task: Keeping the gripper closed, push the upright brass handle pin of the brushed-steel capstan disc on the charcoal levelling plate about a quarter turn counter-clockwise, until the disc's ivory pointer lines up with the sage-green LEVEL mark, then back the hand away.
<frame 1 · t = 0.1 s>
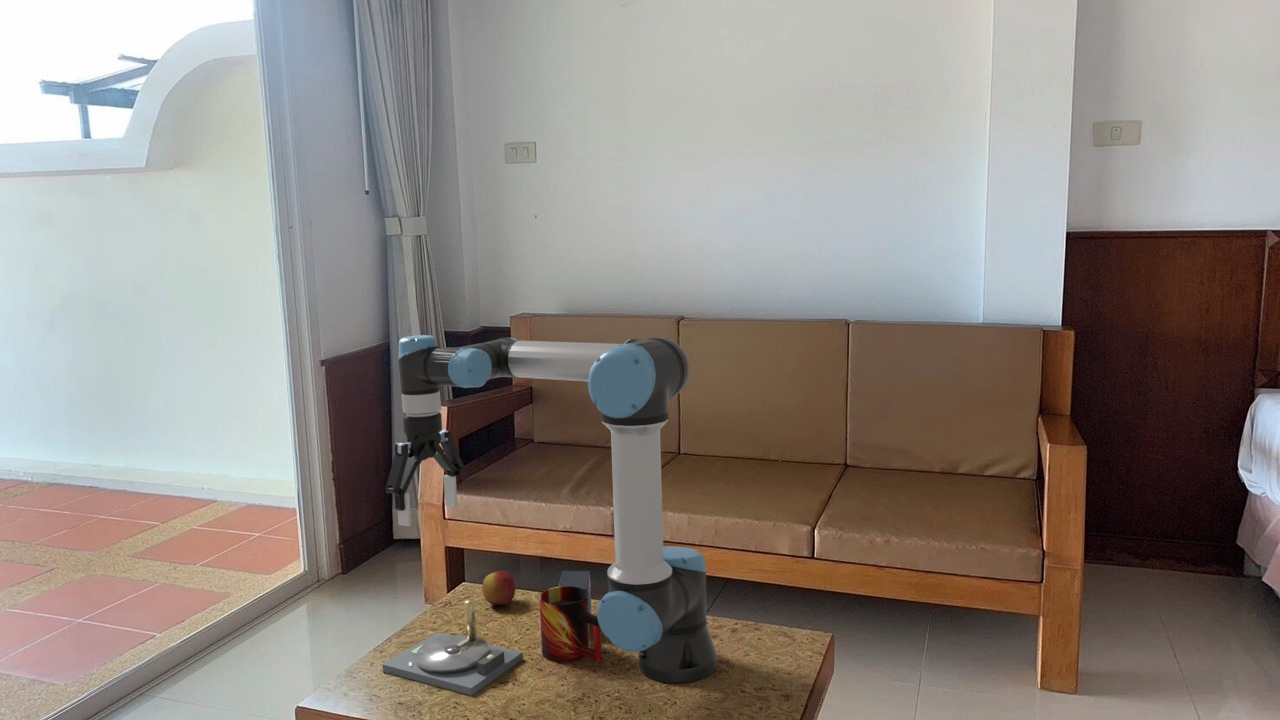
hand: (428, 515, 188), 28 cm above the table, fingers open, 13 cm apart
apple: (499, 605, 212), on the table
small box: (576, 626, 200), on the table
level plate: (453, 665, 183), on the table
capstan: (451, 633, 182), point 7 cm above the table, hinge at 0.0°
mug: (575, 653, 187), on the table
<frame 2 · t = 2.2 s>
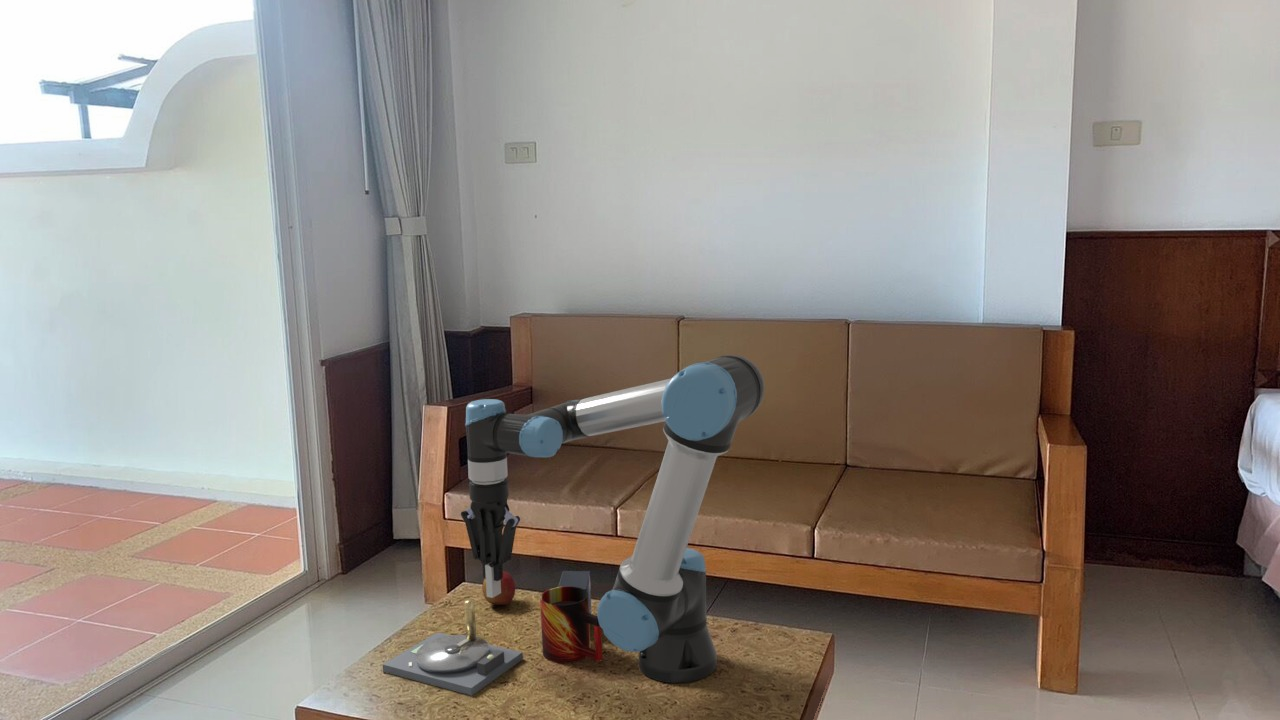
hand: (493, 594, 183), 13 cm above the table, fingers closed
nothing on the table moved.
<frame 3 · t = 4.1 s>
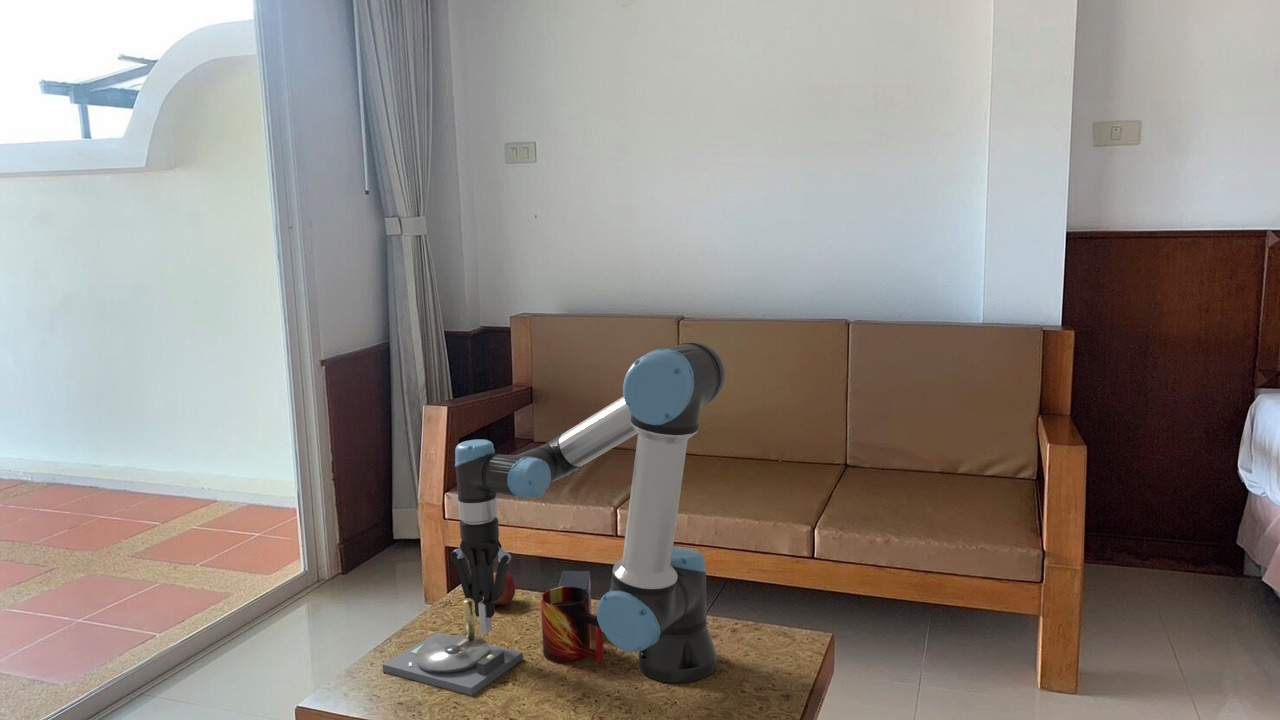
hand: (486, 631, 186), 5 cm above the table, fingers closed
capstan: (451, 633, 182), point 7 cm above the table, hinge at 3.3°, touching gripper
everything else where it was.
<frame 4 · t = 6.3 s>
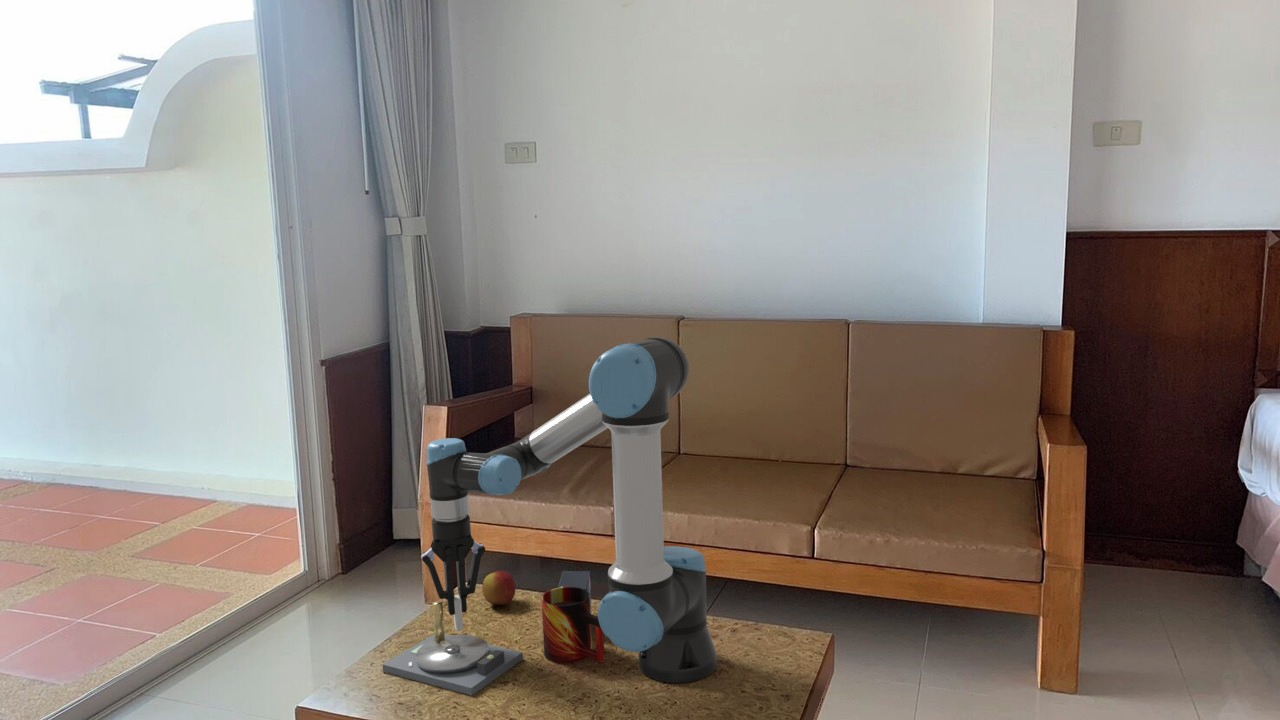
hand: (458, 628, 188), 5 cm above the table, fingers closed
capstan: (451, 633, 182), point 7 cm above the table, hinge at 66.1°, touching gripper
everything else where it was.
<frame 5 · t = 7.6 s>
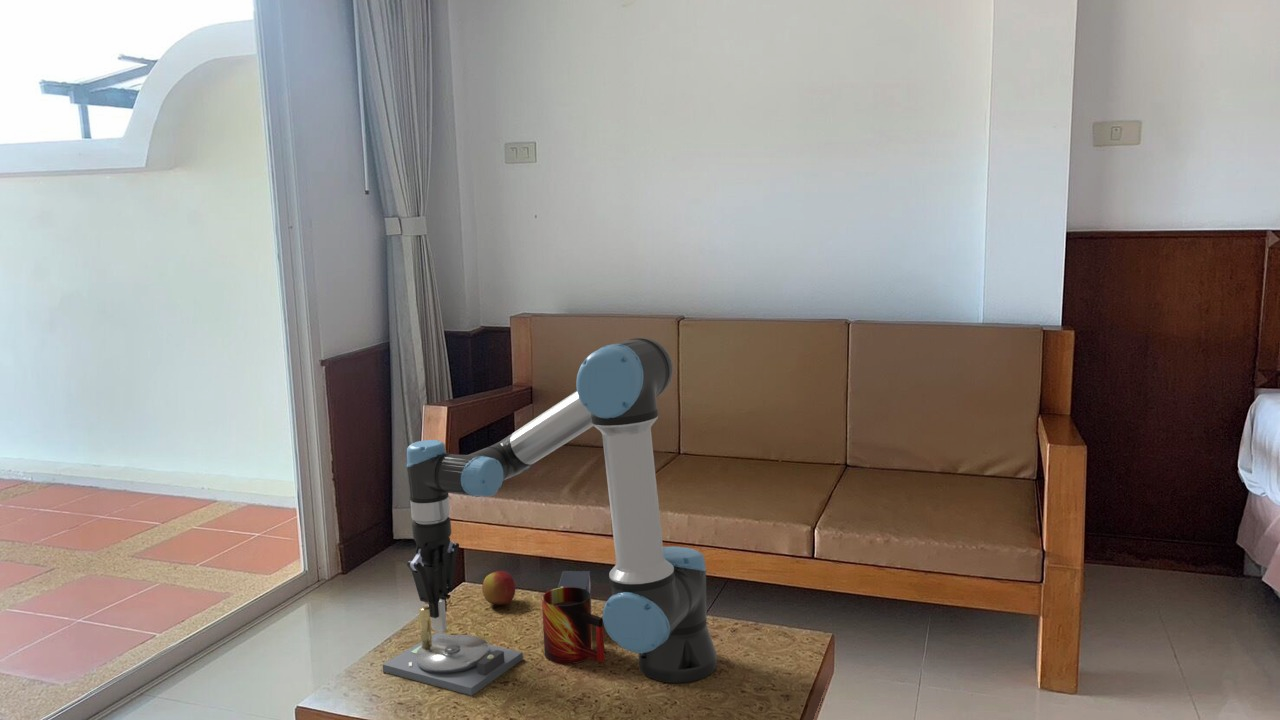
hand: (439, 630, 188), 5 cm above the table, fingers closed
capstan: (451, 633, 182), point 7 cm above the table, hinge at 100.1°, touching gripper
everything else where it was.
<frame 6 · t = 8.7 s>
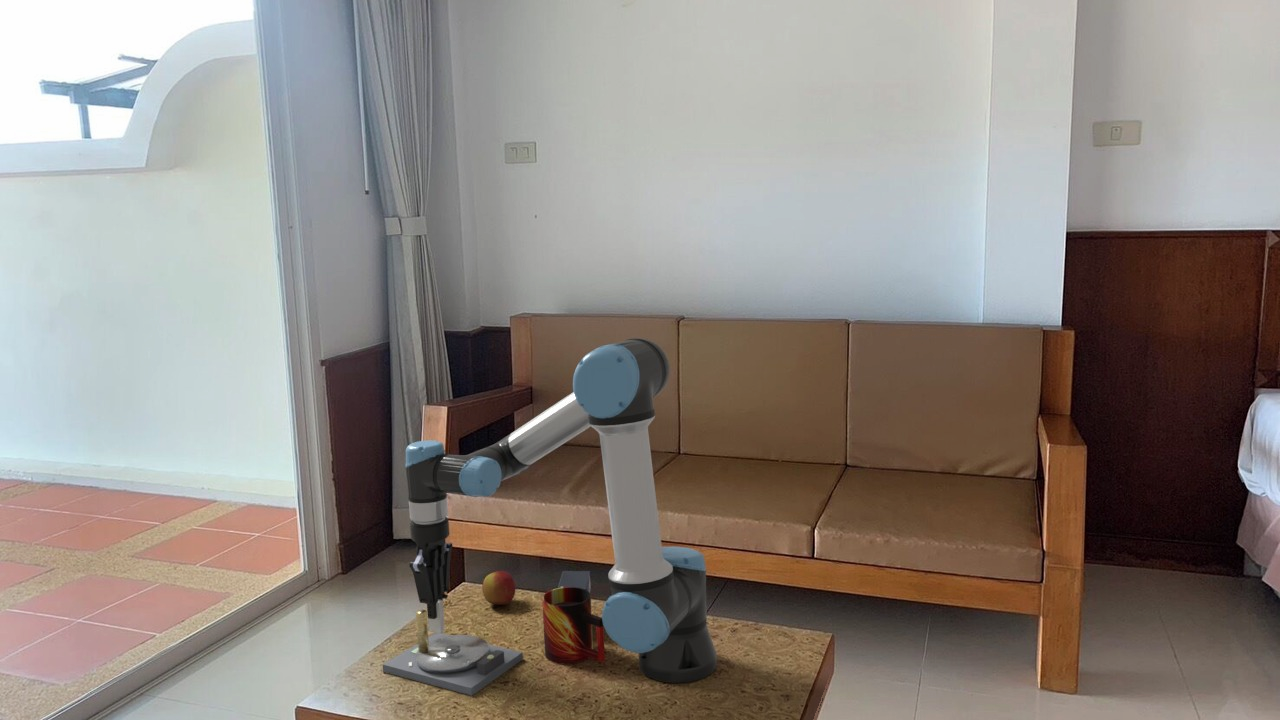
hand: (436, 631, 188), 5 cm above the table, fingers closed
capstan: (451, 633, 182), point 7 cm above the table, hinge at 115.4°
everything else where it was.
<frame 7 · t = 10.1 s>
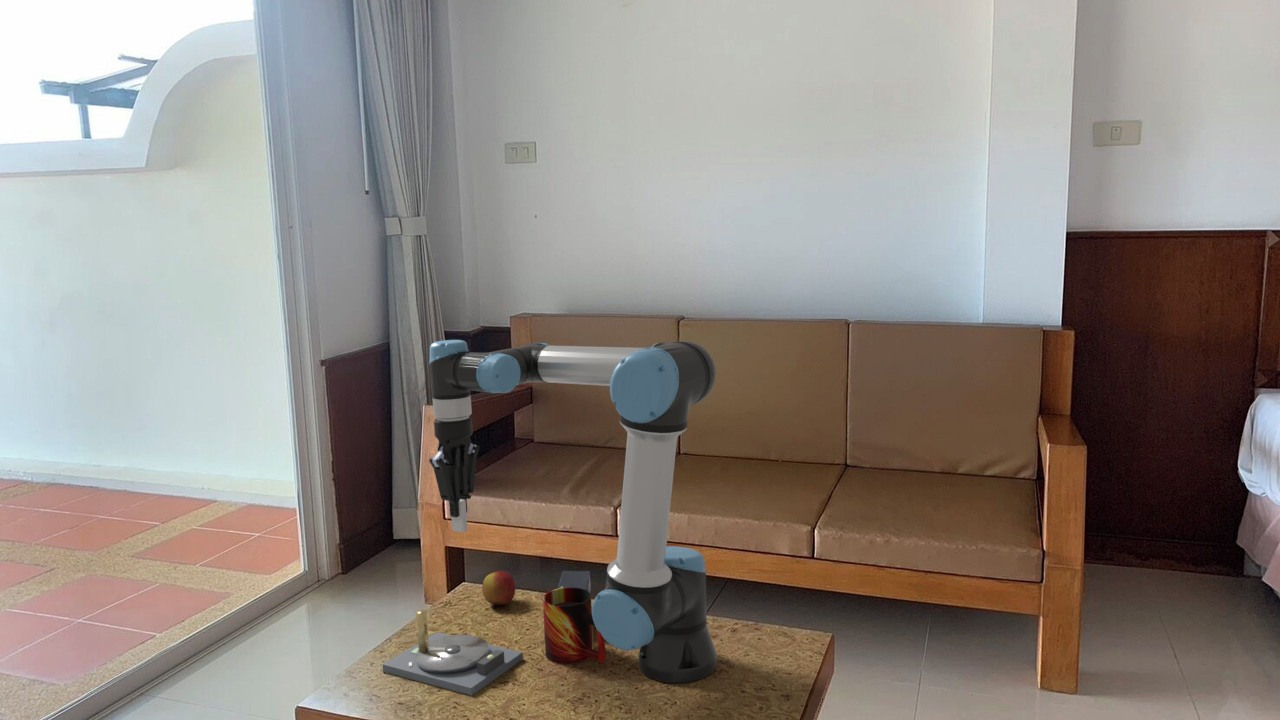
hand: (459, 530, 189), 24 cm above the table, fingers closed
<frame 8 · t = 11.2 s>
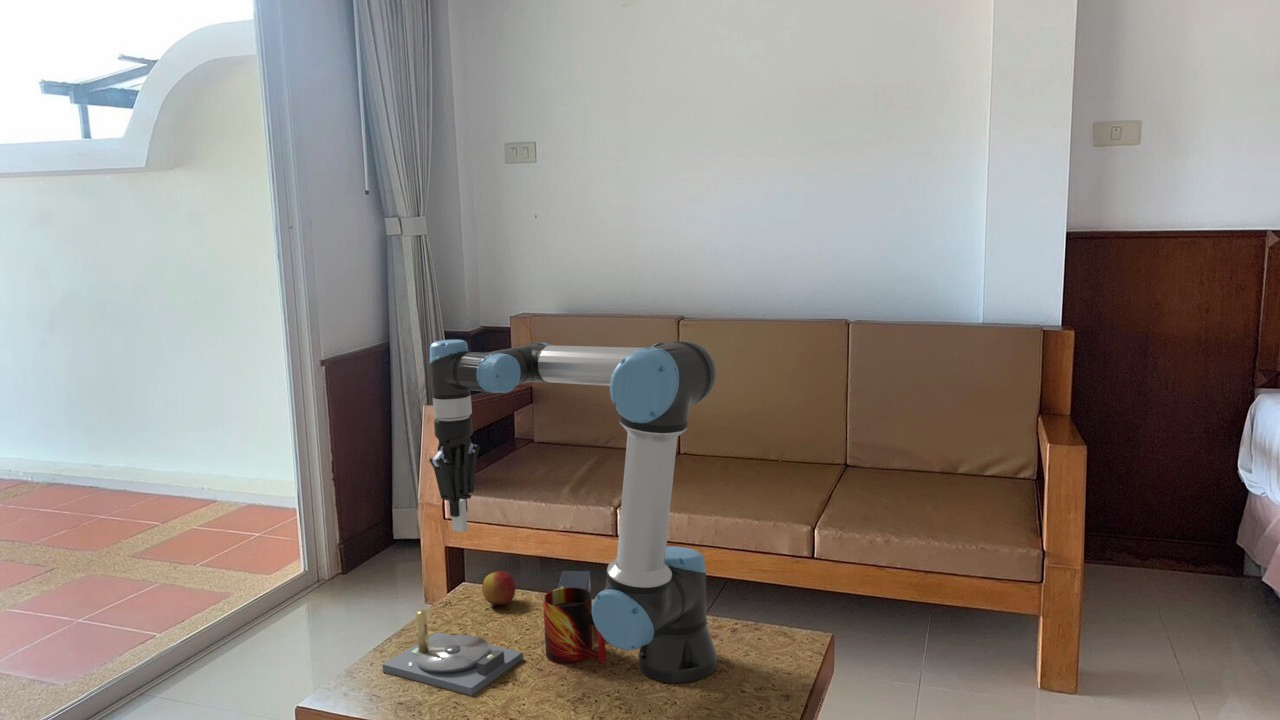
hand: (459, 530, 189), 24 cm above the table, fingers closed
at the end: capstan at +115° (first picture: +0°) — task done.
